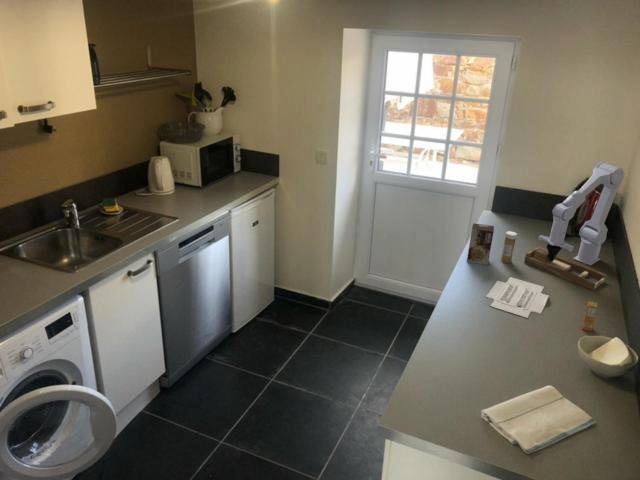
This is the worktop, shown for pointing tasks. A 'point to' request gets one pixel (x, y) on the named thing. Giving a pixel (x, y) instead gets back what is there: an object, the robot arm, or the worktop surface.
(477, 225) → the coffee box
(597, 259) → the robot arm
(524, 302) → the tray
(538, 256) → the walnut block
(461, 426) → the worktop surface
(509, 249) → the sprinkles bottle
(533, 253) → the brown wooden open box
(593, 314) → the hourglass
